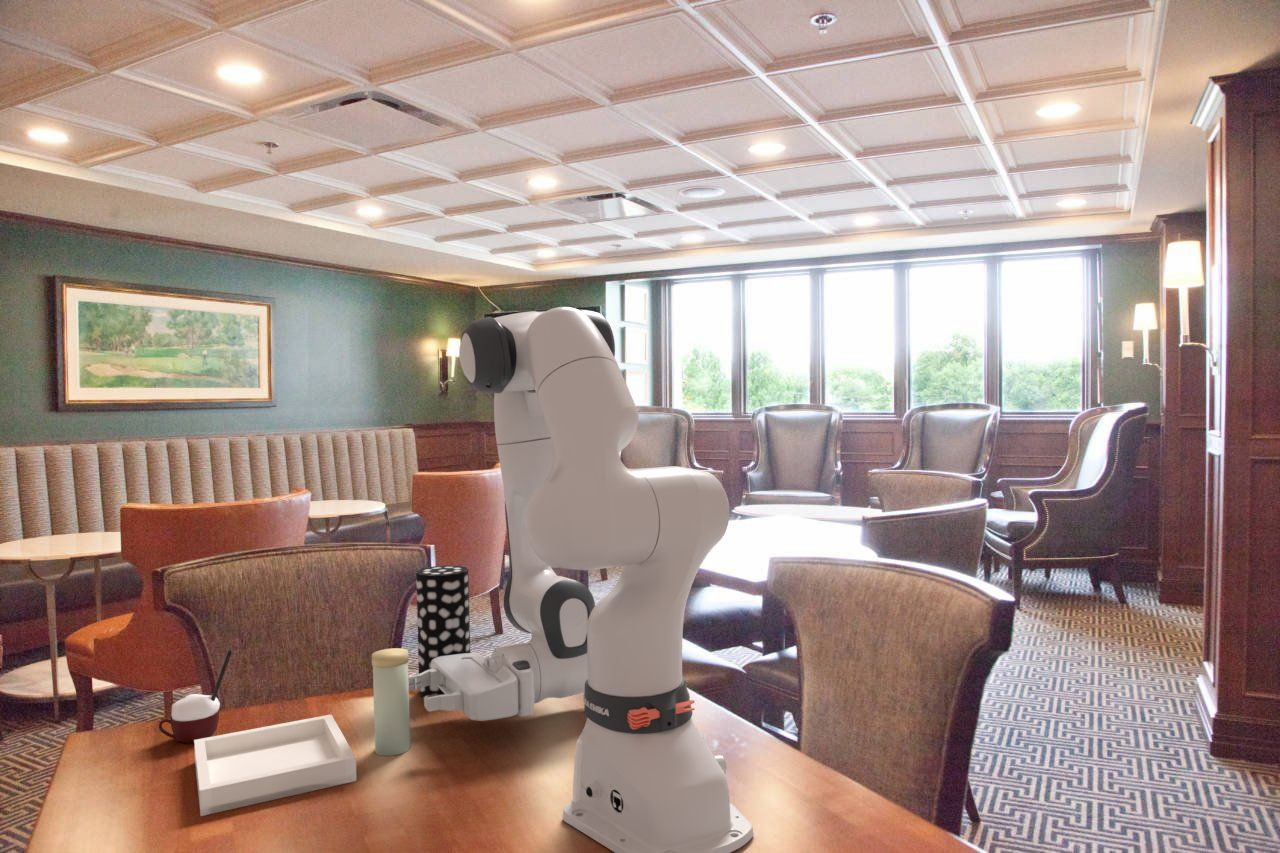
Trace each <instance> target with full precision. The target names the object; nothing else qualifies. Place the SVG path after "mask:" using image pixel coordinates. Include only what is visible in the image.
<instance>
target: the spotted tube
mask: <svg viewBox="0 0 1280 853" xmlns="http://www.w3.org/2000/svg"><path fill="white" fill-rule="evenodd" d="M469 578H470V577H469V568H468V567H466V566H463V565H436V566H435V565H434V566H429V567H424V568H420V569H418V570H416V572H415V580H416V583H415V584H416V615H417V616H416V618H417V621H416V622H417V648H418V649H417V652H418V654H417V659H418V661H417V662H418V675H419V674H420V673H422V672H424V671H427V670H429V669H431V661H432V660H433V659H434V658H436V657H440V656H447V655H455V654H464V653H471V632H470V631H471V627H470V626H471V623H470V622H471V621H470V620H471V619H470V617H471V616H470V615H471V614H470V582H469V580H470V579H469ZM418 693H419V697H420V698H422V699H424V697H425V696H427V695H432V694H438V695H444V694H445V693H444V692H443V691H442V690H441V689H440V688H439V687H438V686H437V685H435V686H431V685H429V686H426V687H422V688H421V690H418Z"/></svg>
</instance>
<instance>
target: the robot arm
mask: <svg viewBox="0 0 1280 853" xmlns="http://www.w3.org/2000/svg"><path fill="white" fill-rule="evenodd" d="M607 320H608V319H606V318H605V317H604V316H603V314H601V313H599V312H596V311H593V310H589V309H577V308H576V307H570V306H558V307H553V308H550V309H547V310H546V311H544V310H543V311H536V310H532V311H531V310H530V311H522V312H517V313H511V314H507V315H501V316H497V317H492V316H486V317H484V318H479V319H477V320H473V321H472V322H470V323H468V324H467V326H466V327H465V328H464V330H463V331H462V333H461V335H460V336H461V337H460V344H459V353H458V354H459V355H458V356H459V363H460V366H461V370H462V372H463V374H464V376H465V379H466V381H467V383H468V384H469V385H470V387H472V388H473V389H474V390H476V391H477V392H479V393H487V394H494V398H493V402H494V403H493V416H494V417H493V418H494V419H493V421H494V430H495V431H494V432H495V440H496V447H497V454H498V461H499V467H500V474H501V478H502V485H503V486H502V487H503V496H504V513H505V514H504V515H505V527H506V541H507V550H508V551H507V552H508V561H509V563H508V566H509V568H508V569H509V570H508V576H507V582H506V586H505V590H504V595H503V609H504V613H505V616H506V618H507V620H508V621H509V623H510V624H511V625H512V626H513V627H514V628H516V630H518V631H520V632H523V633H526V634H530V635H531V639H530V640H529V642H523V643H517V644H511V645H504V646H499V647H495V648H494V649H493V650H492V653H491V655H490V657H487V658H486V657H485V656H483V655H482V654H480V653H477V652H470V653H464V654H455V655H447V656H440V657H436V658H434V659H433V660H432V661H431V669H429V670H427V671H424V672H422V673H420V674H419V673H418V674H414V675H408V684H409V692H415V691H419V690H421V688H422V687H426V686H429V685H431V686H435V685H437V686H438V687H439V688H440V689H441V690H442V691H443V692H444V693H445V694H444V695H438V694H432V695H427V696H425V697H424V698H423V705H424V708H425V710H426V711H427V712H435V711H450V712H451V711H452V712H455V711H460V710H461V712H462V713H464V714H465V715H466V717H467V718H468V719H470V720H472V721H479V722H480V721H481V722H483V721H484V722H485V721H490V720H491V721H493V720H499V719H504V718H511V717H514V716H516V715H517V716H518V717H520V718H524V717H525V718H526V717H531V716H533V715H534V714H535V704H537V703H540V702H542V701H544V700H546V699H550V698H551V699H564V698H569V697H573V696H578V695H582V694H583V703H584V707H583V708H584V715H585V716H586V717H587V718H586V721H585V724H584V728H583V729H582V731H581V734H580V735H579V737H578V738H577V740H576V742H575V746H574V748H575V750H574V761H573V762H574V763H573V784H572V786H573V787H572V800H571V801H570V802H568V803H567V804H566V805H565V806H564V808H563V810H562V820H563V821H564V822H565V823H567V824H568V825H570V826H571V827H573V828H574V829H576V830H578V831H579V832H582V833H583V834H584V835H586V836H588V837H590V838H591V839H593V840H594V841H595V842H597V843H599V844H600V845H602V846H604V847H606V848H607V849H609V850H610V851H612V852H613V853H732V852H734V851H736V850H738V849H740V848H742V847H743V846H745V845H746V844H747V843H748V842H749V841H751V839H752V838H753V836H754V829H753V824H751V823H750V821H749V820H748V819H747V818H746V817H745V815H743V814H742V812H740V810H738V808H737V807H736V806H735V805H734V804H733V803H732V802H731V801H730V791H729V789H730V788H729V783H728V779H727V775H726V774H727V770H728V769H727V762H726V760H725V758H724V755H721V754H716V755H714V754H713V752H712V750H711V748H710V746H708V743H707V742H706V739H705V737H704V734H702V733H700V731H699V729H698V727H697V726H696V724H695V722H694V720H693V718H692V716H693V711H694V710H695V709H696V708H695V707H692V705H693V704H694V703H695V700H693V699H692V700H690V699H691V695H690V693H689V692H690V691H689V690H688V687H687V686H688V685H687V683H686V680H685V678H684V677H683V631H684V618H685V611H686V605H687V601H688V598H689V594H690V591H691V588H692V585H693V583H694V580H695V578H696V576H697V573H698V572H699V569H700V568H701V566H702V564H703V562H704V561H705V558H706V557H707V556H708V555H709V553H710V552H711V550H713V548H714V547H715V546H716V545H717V544H719V542H720V541H721V540H722V538H723V537H724V536H725V534H726V531H727V529H728V525H729V520H730V502H729V499H728V498H729V497H728V495H727V492H726V490H725V488H724V486H723V485H722V483H721V482H720V480H719V479H718V478H717V477H716V476H715V475H714V474H712V473H711V472H708V471H706V470H701V469H695V468H691V467H685V466H678V465H674V466H672V465H671V466H659V467H658V466H657V467H656V466H655V467H642V468H628V467H627V466H625V464H624V463H623V462H622V459H621V457H620V452H622V451H623V450H624V449H626V448H627V446H629V444H630V443H631V442H632V440H633V439H634V437H635V436H636V433H637V430H638V426H639V410H638V408H637V406H636V404H635V401H634V399H633V397H632V394H631V392H630V390H629V387H628V385H627V382H626V380H625V378H624V376H623V374H622V371H621V369H620V367H619V365H618V362H617V360H616V357H615V356H616V344H615V343H616V342H615V338H614V333H613V330H612V327H611V325H610V323H609V322H608V321H607ZM614 567H615V568H616V567H622V569H621V573H620V574H619V577H618V579H617V581H616V583H615V585H614V587H613V588H612V589H611V590H610V591H609V592H608V594H606V595H605V596H604V597H603V598H602V599H600V600H599V601H598V602H597V603H596V602H595V599H594V596H593V593H592V592H591V590H590V589H589V588H588V587H587V586H586V585H585V584H584V583H583V582H581V581H579V580H575V579H572V578H569V577H565V576H562V575H557V574H556V572H555V571H554V570H553V569H554V568H555V569H557V568H558V569H566V570H573V571H574V570H576V571H595V570H601V569H602V570H603V569H608V568H614Z"/></svg>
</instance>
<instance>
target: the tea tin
mask: <svg viewBox="0 0 1280 853" xmlns="http://www.w3.org/2000/svg"><path fill="white" fill-rule="evenodd" d="M409 656H410V655H409V650H408V649H405V648H402V647H401V648H398V647H395V648H392V647H391V648H385V649H381V650H377V651H374V652H372V654H371V665H372V678H373V680H372V683H373V686H372V687H373V688H372V689H373V690H372V691H373V716H374V717H373V718H374V721H373V722H374V725H373V726H374V752H375V754H377V755H378V756H381V757H382V756H383V757H392V756H393V757H394V756H399V755H402V754H404V753H407V752H408V751H410V749H411V730H410V728H411V727H410V726H411V725H410V696H409V694H410V693H409V692H410V690H409V684H408V677H409V660H410V659H409Z"/></svg>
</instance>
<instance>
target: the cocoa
mask: <svg viewBox="0 0 1280 853" xmlns="http://www.w3.org/2000/svg"><path fill="white" fill-rule="evenodd" d="M232 653H233V650H232V648H229V649H228V650H227V653H226V656H225V658H224V661H223V664H222V667H221V669H220V672H219V675H218V678H217V681H216V684H215V686H214V689H213V692H212V694H211V695H207V694H197V693H191V694H188V695H186V696H185V697H183V698H181V699H178V700H177V701H176V702H174V703H172V705H171V715H170V719H169V718H164V719H162V720H160V722H159V723H158V729H159V731H160V733H162V734H163V735H165V736H167V737H169V738H171V739H176V740H177V741H179V742H182V743H184V742H185V743H184V744H194V740H197V739H202V738H207V737H212V736H214V734H215V733H216V731H217V729H218V725H219V720H220V706H221V703H220V701H219V699H218V697H217V696H218V692H219V689H220V687H221V683H222V680H223V679H224V675H225V672H226V670H227V666H228V664H229V661H230V659H231V656H232ZM164 723H168V724H170V726H171V731H172V733H171V732H169V731H167V730H165V729H164V727H163V726H162V725H163V724H164Z"/></svg>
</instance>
